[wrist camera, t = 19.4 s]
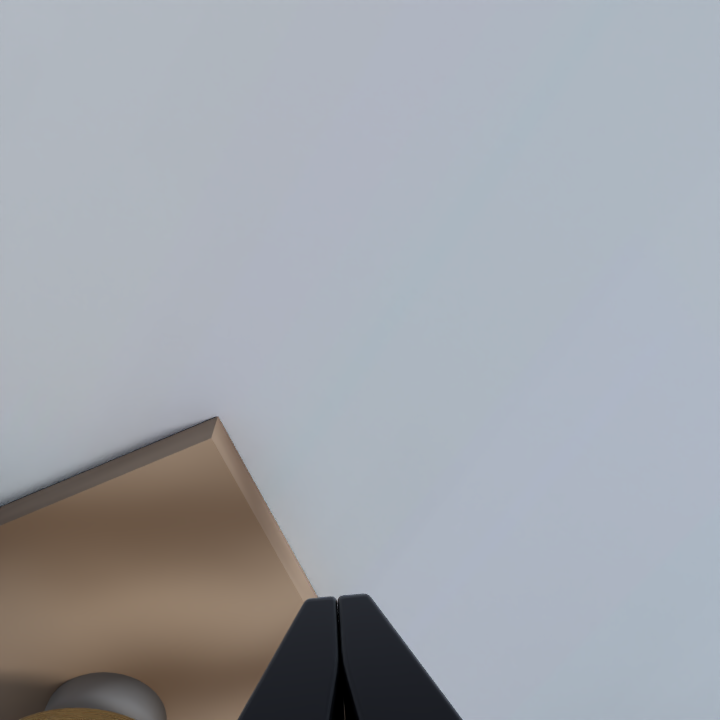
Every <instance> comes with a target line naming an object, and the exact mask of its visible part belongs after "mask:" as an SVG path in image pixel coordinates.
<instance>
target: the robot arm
mask: <svg viewBox="0 0 720 720" xmlns="http://www.w3.org/2000/svg"><path fill="white" fill-rule="evenodd" d="M338 619H339V621H338ZM344 712H345V713H344ZM237 720H462V718H461V717H460V716H459V714H458V713H457V712H456V710H455V709H454V708H453V706H452V705H451V704H450V702H449V701H448V700H447V698H446V697H445V696H444V694H443V693H442V692H441V690H440V689H439V688H438V686H437V685H436V684H435V682H434V681H433V680H432V678H431V677H430V676H429V674H428V673H427V672H426V670H425V669H424V668H423V666H422V665H421V664H420V662H419V661H418V660H417V658H416V657H415V656H414V654H413V653H412V652H411V650H410V649H409V648H408V646H407V645H406V644H405V642H404V641H403V640H402V638H401V637H400V636H399V634H398V633H397V632H396V630H395V629H394V628H393V626H392V625H391V624H390V622H389V621H388V620H387V618H386V617H385V615H384V614H383V613H382V611H381V610H380V609H379V607H378V606H377V605H376V603H375V602H374V601H373V599H372V598H371V597H370V596H369V595H367V594H354V595H343V596H340V597H339V599H338V606H337V600H336V598H334V597H319V598H309V599H307V600H305V602H304V603H303V605H302V606H301V608H300V610H299V612H298V613H297V615H296V617H295V619H294V620H293V622H292V624H291V626H290V628H289V629H288V631H287V633H286V635H285V636H284V638H283V640H282V642H281V643H280V645H279V647H278V649H277V650H276V652H275V654H274V656H273V658H272V659H271V661H270V663H269V665H268V666H267V668H266V670H265V672H264V673H263V675H262V677H261V679H260V680H259V682H258V684H257V686H256V688H255V689H254V691H253V693H252V695H251V696H250V698H249V700H248V702H247V703H246V705H245V707H244V709H243V710H242V712H241V714H240V716H239V718H238V719H237Z"/></svg>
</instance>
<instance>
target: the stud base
mask: <svg viewBox="0 0 720 720" xmlns="http://www.w3.org/2000/svg"><path fill="white" fill-rule="evenodd" d="M309 598H318V597H317V595H316V593H315V591H314V590H313V588H312V586H311V584H310V582H309V581H308V579H307V577H306V575H305V573H304V571H303V570H302V568H301V566H300V564H299V562H298V561H297V559H296V557H295V555H294V553H293V552H292V550H291V548H290V546H289V544H288V542H287V541H286V539H285V537H284V535H283V533H282V532H281V530H280V528H279V526H278V524H277V522H276V521H275V519H274V517H273V515H272V513H271V512H270V510H269V508H268V506H267V504H266V503H265V501H264V499H263V497H262V495H261V493H260V492H259V490H258V488H257V486H256V484H255V483H254V481H253V479H252V477H251V475H250V473H249V472H248V470H247V468H246V466H245V464H244V463H243V461H242V459H241V457H240V455H239V454H238V452H237V450H236V448H235V446H234V444H233V443H232V441H231V439H230V437H229V435H228V434H227V432H226V430H225V428H224V426H223V424H222V423H221V421H220V419H219V417H215V418H213V419H210V420H208V421H206V422H203V423H201V424H198V425H196V426H194V427H191V428H189V429H186V430H184V431H182V432H179V433H177V434H174V435H172V436H170V437H167V438H165V439H162V440H160V441H158V442H155V443H153V444H150V445H148V446H146V447H143V448H141V449H138V450H136V451H134V452H131V453H129V454H126V455H124V456H122V457H119V458H117V459H114V460H112V461H110V462H107V463H105V464H102V465H100V466H98V467H95V468H93V469H90V470H88V471H86V472H83V473H81V474H78V475H76V476H74V477H71V478H69V479H66V480H64V481H62V482H59V483H57V484H54V485H52V486H50V487H47V488H45V489H42V490H40V491H38V492H35V493H33V494H30V495H28V496H26V497H23V498H21V499H18V500H16V501H14V502H11V503H9V504H6V505H4V506H2V507H0V720H20V719H22V718H24V717H27V716H30V715H33V714H36V713H39V712H44V711H48V710H54V709H63V708H90V709H100V710H105V711H111V712H114V713H118V714H122V715H125V716H128V717H130V718H133V719H135V720H237V719H238V718H239V716H240V714H241V712H242V710H243V709H244V707H245V705H246V703H247V702H248V700H249V698H250V696H251V695H252V693H253V691H254V689H255V688H256V686H257V684H258V682H259V680H260V679H261V677H262V675H263V673H264V672H265V670H266V668H267V666H268V665H269V663H270V661H271V659H272V658H273V656H274V654H275V652H276V650H277V649H278V647H279V645H280V643H281V642H282V640H283V638H284V636H285V635H286V633H287V631H288V629H289V628H290V626H291V624H292V622H293V620H294V619H295V617H296V615H297V613H298V612H299V610H300V608H301V606H302V605H303V603H304V602H305V600H307V599H309ZM344 713H345V712H344Z"/></svg>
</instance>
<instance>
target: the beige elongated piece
mask: <svg viewBox="0 0 720 720" xmlns="http://www.w3.org/2000/svg"><path fill="white" fill-rule="evenodd" d="M20 720H135V719H133V718H130V717H128V716H125V715H122V714H118V713H114V712H111V711H105V710H100V709H90V708H63V709H54V710H48V711H44V712H39V713H36V714H33V715H30V716H27V717H24V718H22V719H20Z"/></svg>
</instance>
